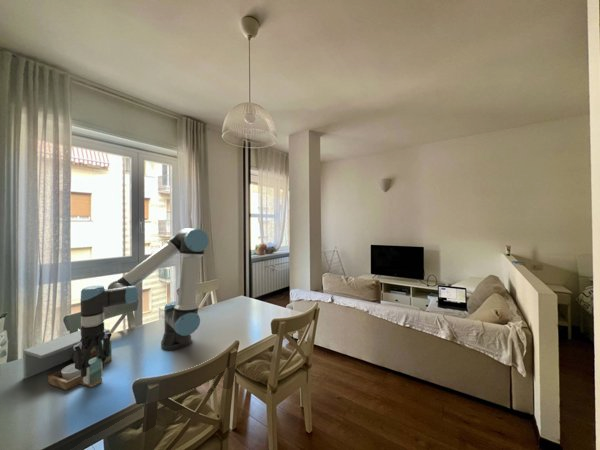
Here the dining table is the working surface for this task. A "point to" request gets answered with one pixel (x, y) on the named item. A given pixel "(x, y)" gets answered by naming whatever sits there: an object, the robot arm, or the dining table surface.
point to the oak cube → (91, 350)
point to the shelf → (50, 353)
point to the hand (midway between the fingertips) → (93, 379)
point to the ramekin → (70, 372)
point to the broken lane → (97, 356)
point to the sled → (94, 376)
